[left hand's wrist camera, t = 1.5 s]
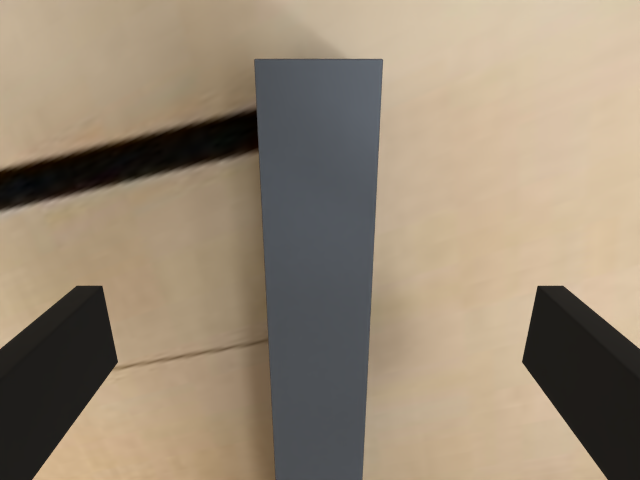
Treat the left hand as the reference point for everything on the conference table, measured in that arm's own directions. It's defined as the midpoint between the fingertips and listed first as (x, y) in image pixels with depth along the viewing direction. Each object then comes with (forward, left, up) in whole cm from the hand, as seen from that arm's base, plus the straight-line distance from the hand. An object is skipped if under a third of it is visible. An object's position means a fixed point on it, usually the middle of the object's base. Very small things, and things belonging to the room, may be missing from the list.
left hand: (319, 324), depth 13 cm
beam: (+21, +9, -15) cm, 27 cm away
